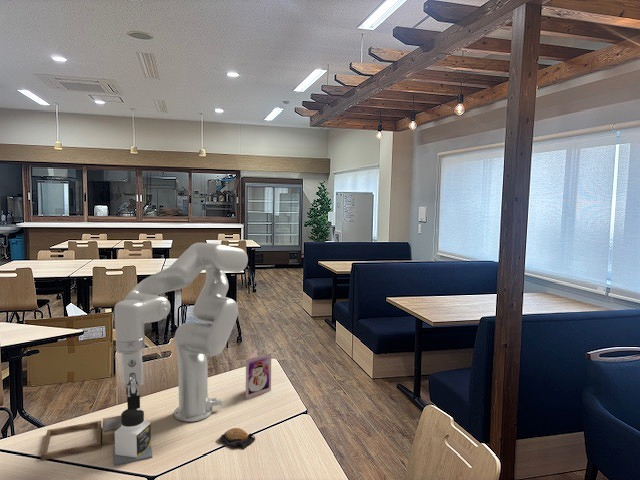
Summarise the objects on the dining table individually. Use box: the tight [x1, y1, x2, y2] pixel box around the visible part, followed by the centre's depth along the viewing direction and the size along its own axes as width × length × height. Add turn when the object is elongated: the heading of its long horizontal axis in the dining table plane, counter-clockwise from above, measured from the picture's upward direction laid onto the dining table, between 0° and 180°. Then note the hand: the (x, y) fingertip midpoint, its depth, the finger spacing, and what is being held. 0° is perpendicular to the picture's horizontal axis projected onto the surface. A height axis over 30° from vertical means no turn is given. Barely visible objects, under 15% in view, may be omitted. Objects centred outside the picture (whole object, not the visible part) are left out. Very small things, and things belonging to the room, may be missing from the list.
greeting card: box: [245, 349, 272, 400], centre depth 171 cm, size 11×7×15 cm, turn 132°
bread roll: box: [215, 427, 256, 451], centre depth 138 cm, size 11×8×4 cm
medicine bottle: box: [114, 407, 152, 458], centre depth 131 cm, size 7×7×12 cm
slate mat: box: [113, 444, 154, 466], centre depth 131 cm, size 10×10×1 cm
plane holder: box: [40, 415, 121, 461], centre depth 138 cm, size 26×15×6 cm, turn 115°
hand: (133, 401), depth 130 cm, fingers open, 9 cm apart
